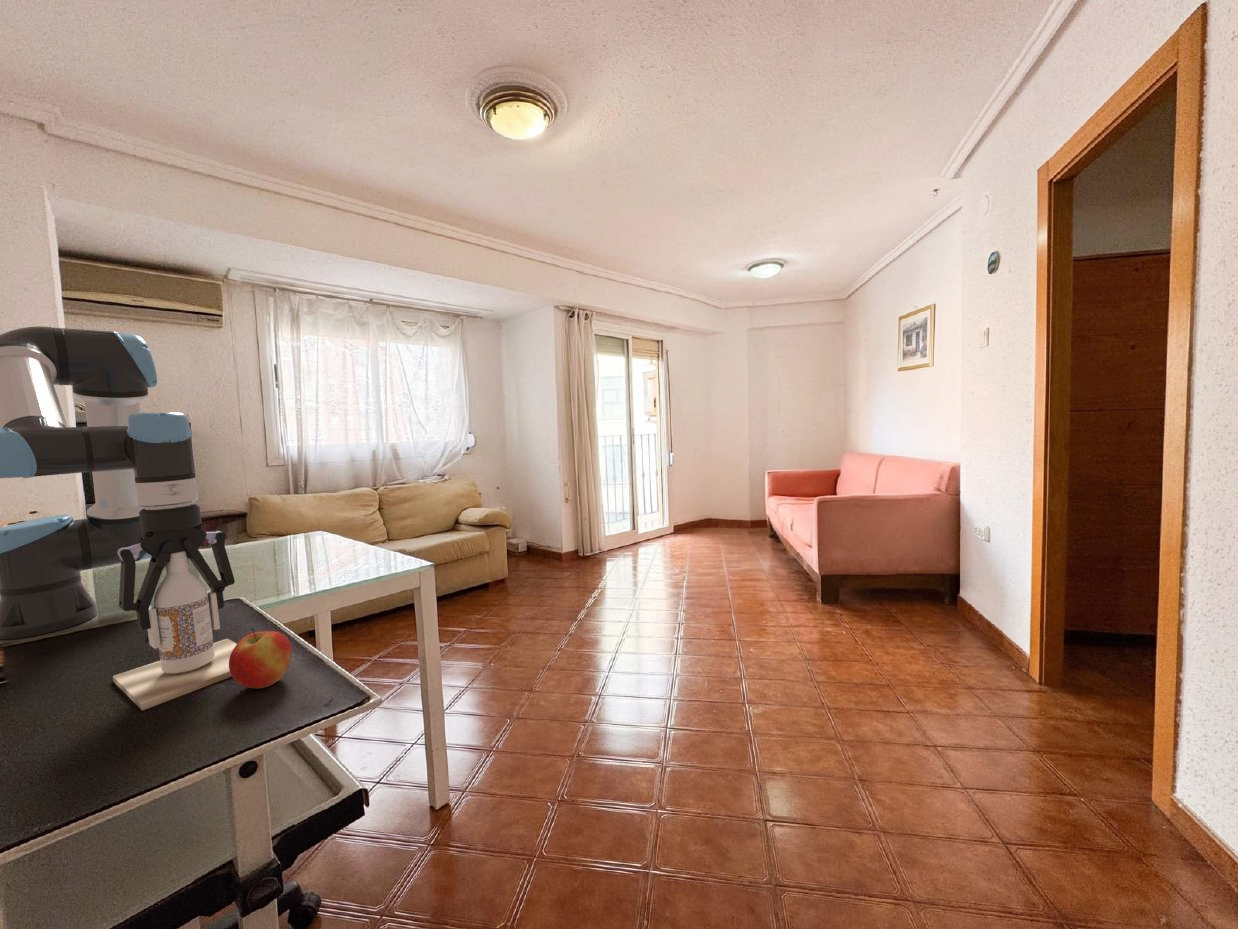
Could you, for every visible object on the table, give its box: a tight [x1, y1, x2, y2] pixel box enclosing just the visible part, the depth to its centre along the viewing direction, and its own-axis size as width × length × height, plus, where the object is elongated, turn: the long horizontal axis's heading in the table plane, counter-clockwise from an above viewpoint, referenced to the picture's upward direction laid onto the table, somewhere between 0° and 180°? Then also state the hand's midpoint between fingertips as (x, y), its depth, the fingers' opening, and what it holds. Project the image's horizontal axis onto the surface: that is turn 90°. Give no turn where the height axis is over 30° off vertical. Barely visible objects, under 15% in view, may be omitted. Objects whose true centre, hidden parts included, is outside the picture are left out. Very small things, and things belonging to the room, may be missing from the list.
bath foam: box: [153, 551, 214, 674], centre depth 84 cm, size 7×7×20 cm
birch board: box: [112, 638, 237, 711], centre depth 85 cm, size 16×16×1 cm
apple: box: [229, 627, 292, 689], centre depth 80 cm, size 8×8×10 cm
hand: (186, 636), depth 85 cm, fingers open, 7 cm apart
